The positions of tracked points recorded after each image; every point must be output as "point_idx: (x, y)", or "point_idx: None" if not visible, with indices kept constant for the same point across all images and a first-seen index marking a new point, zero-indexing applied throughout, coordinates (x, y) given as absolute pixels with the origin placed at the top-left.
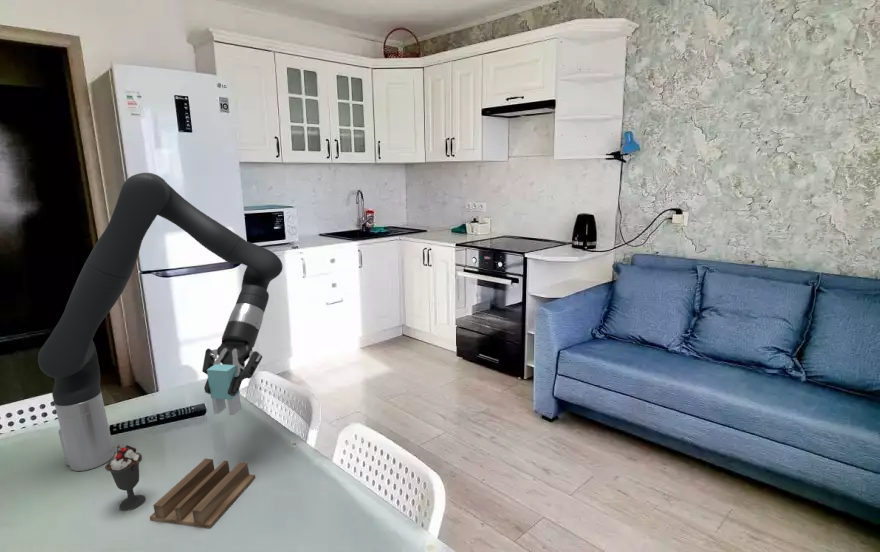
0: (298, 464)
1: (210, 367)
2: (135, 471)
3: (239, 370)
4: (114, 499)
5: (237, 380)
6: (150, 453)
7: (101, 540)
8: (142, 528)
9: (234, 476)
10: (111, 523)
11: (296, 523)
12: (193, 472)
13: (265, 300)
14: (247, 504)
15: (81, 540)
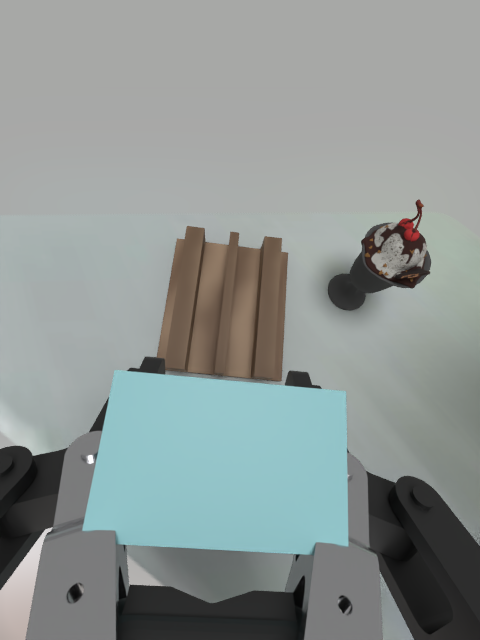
0: (73, 423)
1: (345, 451)
2: (359, 261)
3: (59, 495)
4: (383, 298)
5: (99, 422)
6: (436, 439)
7: (326, 219)
8: (285, 240)
9: (172, 319)
10: (341, 248)
11: (33, 255)
12: (268, 327)
13: None
14: (140, 295)
15: (354, 218)
